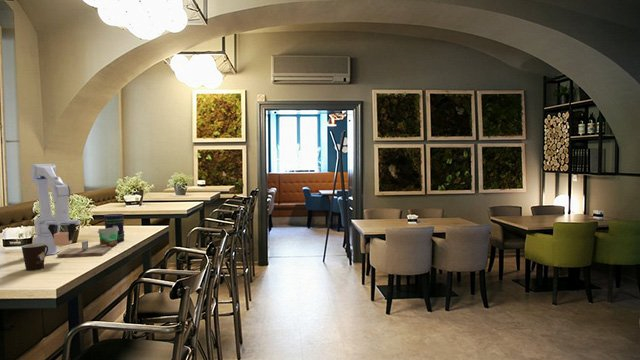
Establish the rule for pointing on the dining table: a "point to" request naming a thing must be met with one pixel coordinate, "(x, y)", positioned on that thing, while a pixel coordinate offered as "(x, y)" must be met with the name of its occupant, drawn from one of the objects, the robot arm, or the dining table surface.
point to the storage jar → (115, 224)
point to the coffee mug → (34, 256)
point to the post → (84, 245)
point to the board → (84, 252)
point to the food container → (108, 236)
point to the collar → (61, 238)
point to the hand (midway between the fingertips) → (63, 240)
